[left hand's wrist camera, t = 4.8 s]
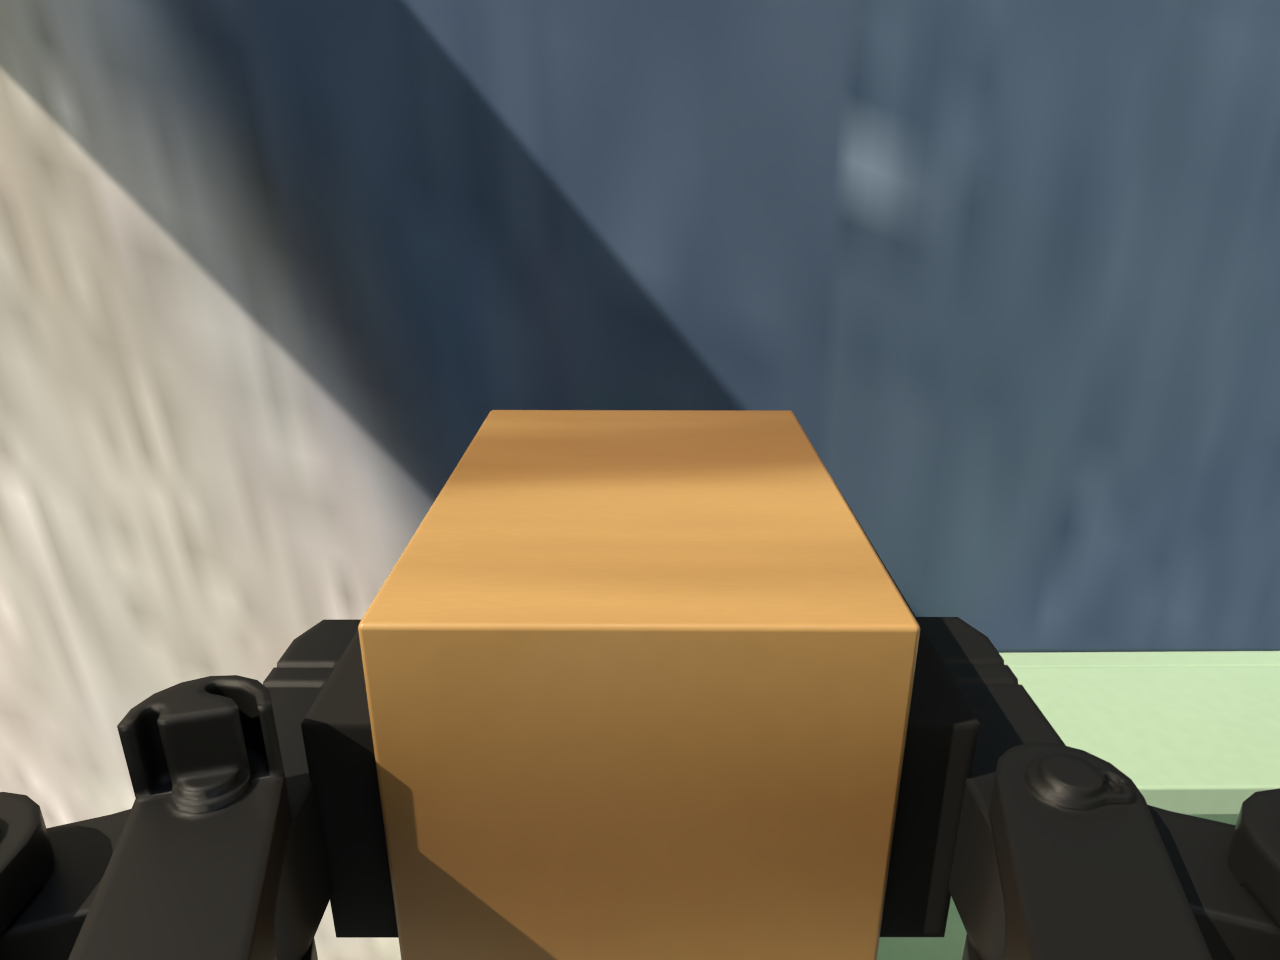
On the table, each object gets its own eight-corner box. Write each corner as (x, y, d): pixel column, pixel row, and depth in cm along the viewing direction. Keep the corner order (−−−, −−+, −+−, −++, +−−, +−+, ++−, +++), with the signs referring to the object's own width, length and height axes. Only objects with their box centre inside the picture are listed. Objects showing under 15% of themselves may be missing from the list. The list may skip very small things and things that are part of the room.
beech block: (489, 409, 14) (355, 625, 8) (793, 409, 14) (923, 626, 7) (506, 669, 16) (407, 1028, 9) (776, 669, 16) (868, 1030, 9)
